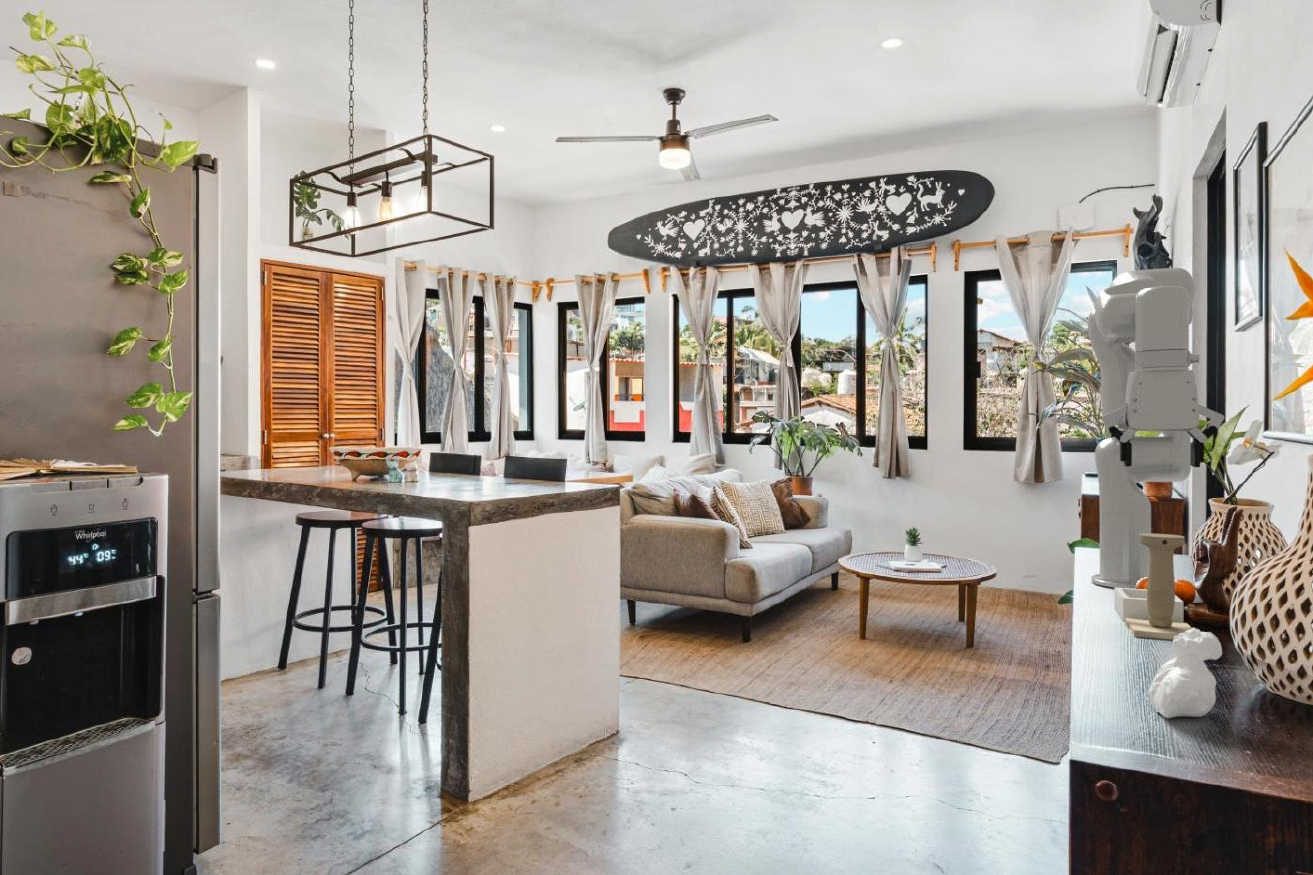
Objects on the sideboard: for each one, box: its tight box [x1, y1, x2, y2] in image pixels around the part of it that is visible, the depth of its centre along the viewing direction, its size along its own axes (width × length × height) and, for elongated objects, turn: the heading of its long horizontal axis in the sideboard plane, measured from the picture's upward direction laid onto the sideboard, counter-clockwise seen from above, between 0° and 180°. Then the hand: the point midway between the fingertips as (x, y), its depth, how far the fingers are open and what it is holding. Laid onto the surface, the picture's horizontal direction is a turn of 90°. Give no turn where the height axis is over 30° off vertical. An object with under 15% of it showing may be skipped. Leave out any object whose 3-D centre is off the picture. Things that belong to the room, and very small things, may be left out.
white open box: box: [1113, 587, 1184, 622], centre depth 145 cm, size 10×9×4 cm
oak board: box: [1124, 618, 1193, 641], centre depth 134 cm, size 9×9×1 cm
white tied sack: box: [1147, 627, 1223, 719], centre depth 97 cm, size 12×8×11 cm
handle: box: [1139, 533, 1186, 628], centre depth 134 cm, size 5×6×15 cm
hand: (1160, 466), depth 134 cm, fingers open, 9 cm apart
